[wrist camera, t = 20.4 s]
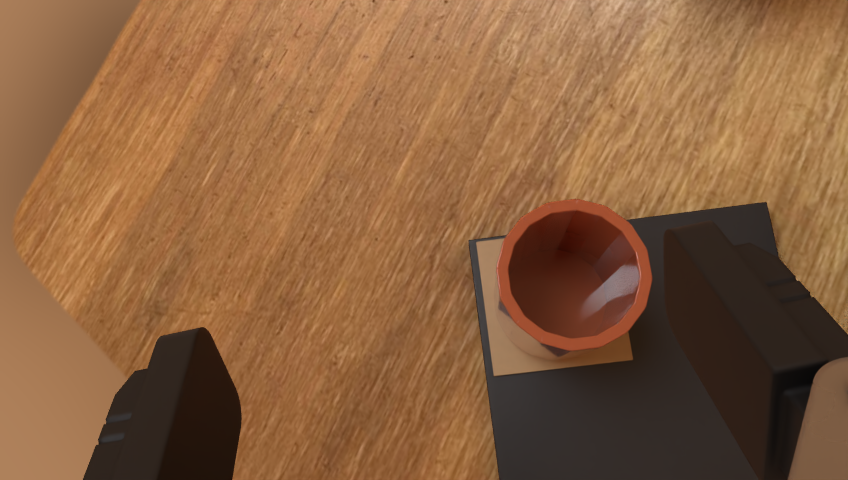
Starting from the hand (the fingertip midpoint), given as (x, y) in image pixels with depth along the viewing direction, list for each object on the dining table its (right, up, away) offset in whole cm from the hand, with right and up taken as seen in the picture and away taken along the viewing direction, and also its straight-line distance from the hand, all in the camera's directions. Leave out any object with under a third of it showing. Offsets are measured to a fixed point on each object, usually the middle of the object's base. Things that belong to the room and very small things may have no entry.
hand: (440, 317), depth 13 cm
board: (+11, -5, +26) cm, 29 cm away
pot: (+7, -2, +26) cm, 27 cm away
